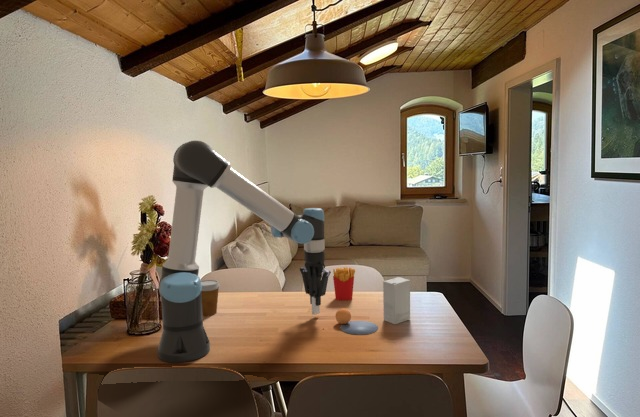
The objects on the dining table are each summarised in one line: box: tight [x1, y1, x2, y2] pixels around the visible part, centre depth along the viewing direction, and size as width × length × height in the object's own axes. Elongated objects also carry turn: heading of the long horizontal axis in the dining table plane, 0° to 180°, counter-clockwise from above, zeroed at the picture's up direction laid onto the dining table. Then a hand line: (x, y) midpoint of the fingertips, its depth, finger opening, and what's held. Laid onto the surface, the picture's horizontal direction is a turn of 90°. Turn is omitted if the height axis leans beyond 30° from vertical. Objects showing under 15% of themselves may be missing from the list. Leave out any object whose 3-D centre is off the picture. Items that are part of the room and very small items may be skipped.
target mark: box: [339, 320, 379, 336], centre depth 158 cm, size 13×13×1 cm
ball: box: [334, 307, 352, 325], centre depth 162 cm, size 6×6×6 cm
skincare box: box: [382, 276, 411, 325], centre depth 164 cm, size 8×6×15 cm
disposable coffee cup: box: [201, 279, 221, 317], centre depth 176 cm, size 10×10×12 cm
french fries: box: [332, 266, 356, 301], centre depth 191 cm, size 9×4×13 cm, turn 89°
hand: (315, 313), depth 169 cm, fingers closed
